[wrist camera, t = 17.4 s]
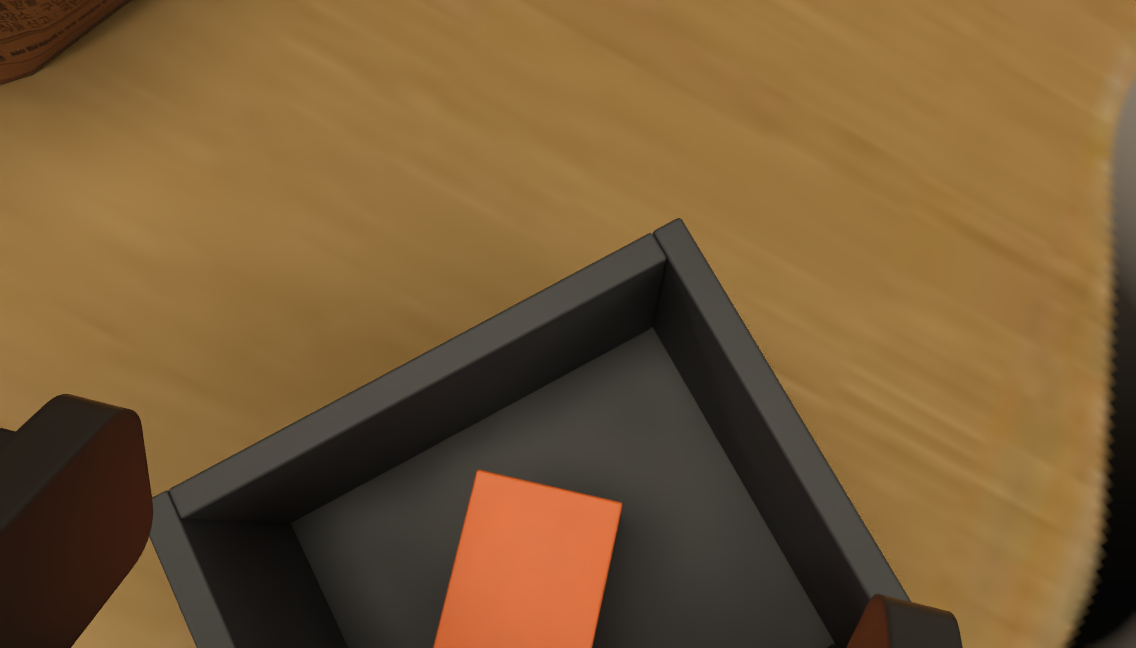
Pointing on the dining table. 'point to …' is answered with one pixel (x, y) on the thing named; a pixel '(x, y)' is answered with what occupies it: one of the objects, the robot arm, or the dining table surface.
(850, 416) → the dining table surface
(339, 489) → the trash bin
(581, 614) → the block
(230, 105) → the dining table surface
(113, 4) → the pancake mix bag
